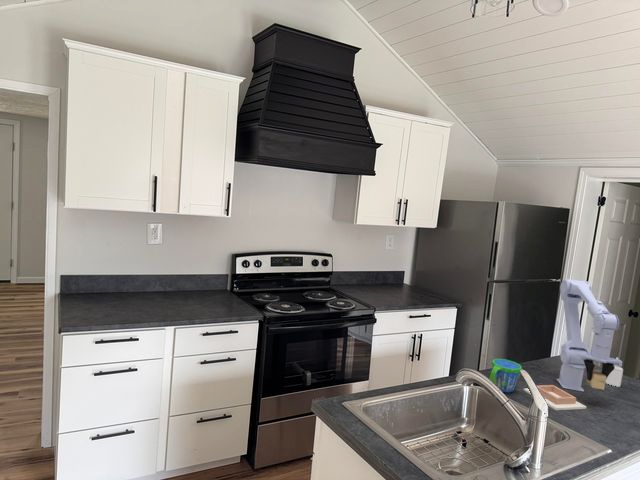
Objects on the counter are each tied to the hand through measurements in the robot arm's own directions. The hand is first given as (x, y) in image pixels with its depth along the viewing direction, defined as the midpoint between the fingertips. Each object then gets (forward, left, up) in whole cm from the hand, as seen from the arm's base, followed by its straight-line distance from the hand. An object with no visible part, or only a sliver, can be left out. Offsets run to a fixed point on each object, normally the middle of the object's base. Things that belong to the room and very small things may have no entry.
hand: (595, 380), depth 171 cm
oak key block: (0, 0, -2) cm, 2 cm away
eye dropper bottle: (-27, +17, -9) cm, 33 cm away
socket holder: (+3, -14, -9) cm, 17 cm away
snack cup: (+2, -32, -9) cm, 33 cm away
